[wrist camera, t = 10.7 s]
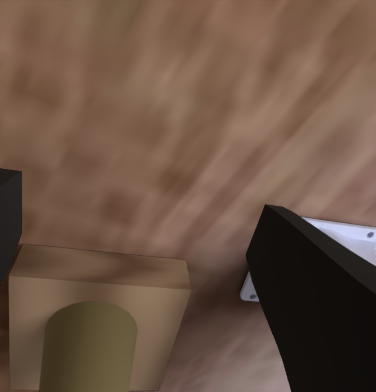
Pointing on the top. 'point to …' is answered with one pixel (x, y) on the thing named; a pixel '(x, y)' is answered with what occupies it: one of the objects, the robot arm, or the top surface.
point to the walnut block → (95, 291)
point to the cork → (88, 349)
